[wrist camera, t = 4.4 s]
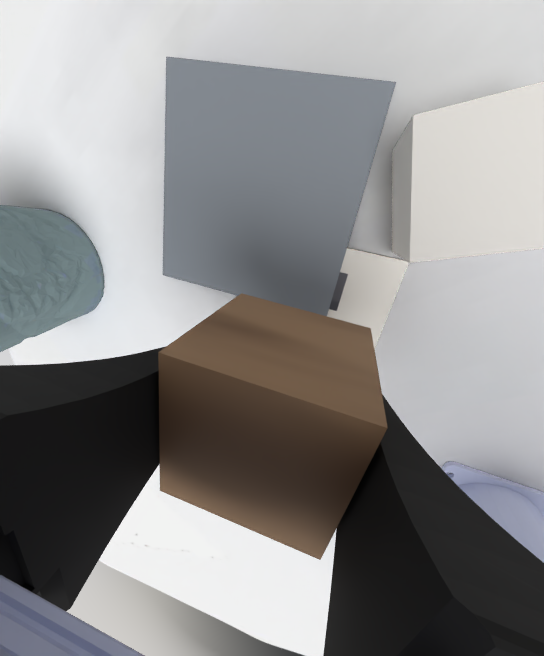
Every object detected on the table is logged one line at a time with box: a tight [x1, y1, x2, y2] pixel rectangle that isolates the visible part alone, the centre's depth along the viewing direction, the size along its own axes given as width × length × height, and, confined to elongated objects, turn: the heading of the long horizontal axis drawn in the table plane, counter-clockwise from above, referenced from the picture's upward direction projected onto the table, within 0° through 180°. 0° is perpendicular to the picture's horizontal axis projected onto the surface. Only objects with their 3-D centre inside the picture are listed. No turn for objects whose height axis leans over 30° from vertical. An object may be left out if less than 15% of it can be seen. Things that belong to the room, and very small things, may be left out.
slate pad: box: [163, 57, 396, 316], centre depth 16 cm, size 12×12×1 cm
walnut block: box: [158, 293, 387, 559], centre depth 9 cm, size 5×5×5 cm
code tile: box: [327, 248, 409, 350], centre depth 17 cm, size 9×9×1 cm
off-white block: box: [392, 82, 544, 263], centre depth 11 cm, size 5×5×5 cm
